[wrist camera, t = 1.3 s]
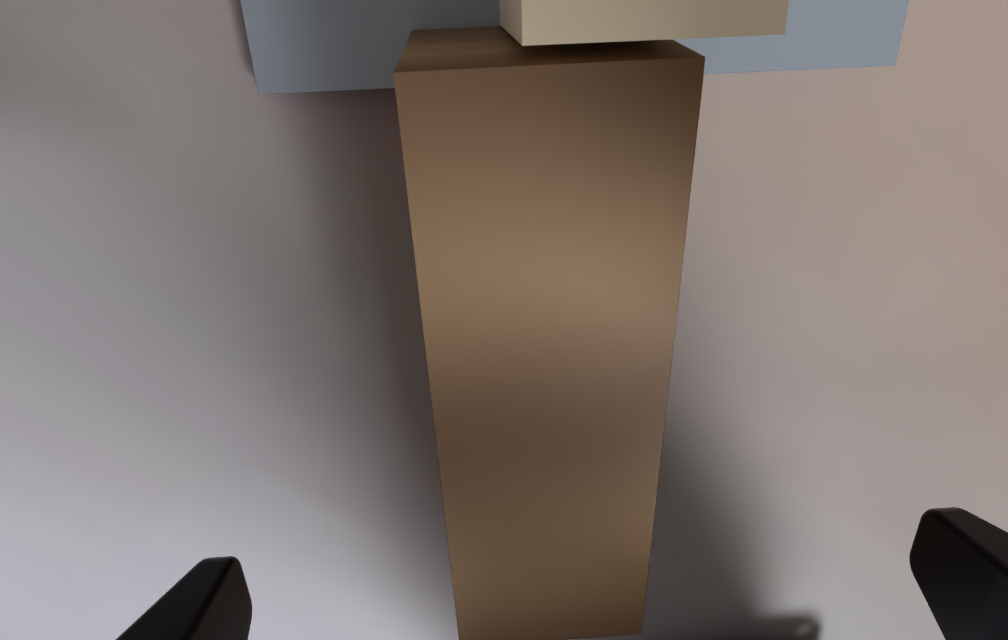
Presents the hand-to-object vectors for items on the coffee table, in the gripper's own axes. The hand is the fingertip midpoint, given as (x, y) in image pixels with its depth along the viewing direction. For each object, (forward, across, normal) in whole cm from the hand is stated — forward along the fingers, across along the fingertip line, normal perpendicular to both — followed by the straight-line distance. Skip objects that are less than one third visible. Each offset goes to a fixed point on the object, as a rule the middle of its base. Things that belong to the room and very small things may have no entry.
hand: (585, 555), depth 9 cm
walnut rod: (+7, 0, 0) cm, 7 cm away
